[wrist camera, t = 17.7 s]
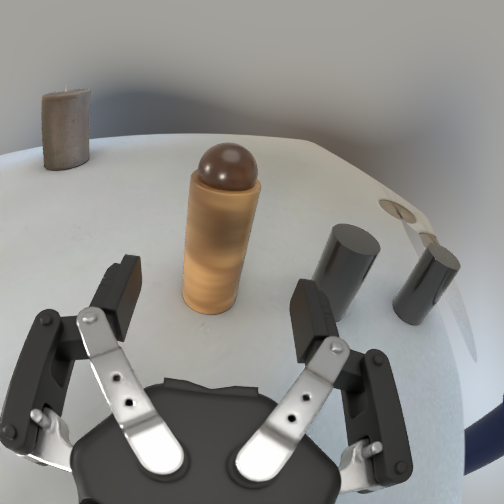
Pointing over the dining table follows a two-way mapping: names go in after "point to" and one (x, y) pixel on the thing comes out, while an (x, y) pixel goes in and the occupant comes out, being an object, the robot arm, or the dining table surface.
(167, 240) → the dining table surface
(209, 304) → the pepper mill
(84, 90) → the pillar candle
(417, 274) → the dark grey upright cylinder
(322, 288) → the grey upright cylinder
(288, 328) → the dining table surface
